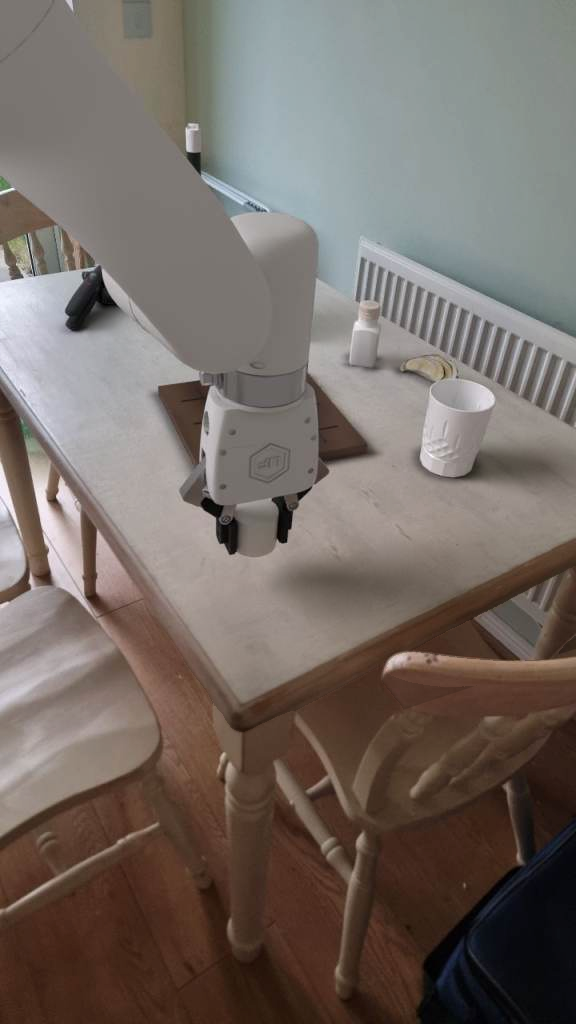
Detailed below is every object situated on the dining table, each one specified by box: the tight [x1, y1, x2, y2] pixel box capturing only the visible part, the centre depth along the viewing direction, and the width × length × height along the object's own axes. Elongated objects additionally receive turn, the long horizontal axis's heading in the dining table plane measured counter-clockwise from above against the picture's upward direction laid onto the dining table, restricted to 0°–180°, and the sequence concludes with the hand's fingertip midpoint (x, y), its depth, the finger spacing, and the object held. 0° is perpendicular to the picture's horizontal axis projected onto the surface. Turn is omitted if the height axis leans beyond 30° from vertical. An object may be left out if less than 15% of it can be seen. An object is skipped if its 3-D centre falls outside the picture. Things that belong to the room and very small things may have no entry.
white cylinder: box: [233, 498, 279, 558], centre depth 68 cm, size 5×5×4 cm
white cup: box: [419, 378, 497, 478], centre depth 86 cm, size 8×8×10 cm
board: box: [157, 372, 368, 469], centre depth 94 cm, size 22×22×2 cm
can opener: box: [64, 264, 117, 330], centre depth 117 cm, size 18×7×6 cm, turn 169°
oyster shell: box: [399, 353, 459, 384], centre depth 105 cm, size 6×4×10 cm
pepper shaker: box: [348, 299, 382, 368], centre depth 107 cm, size 4×4×10 cm
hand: (253, 538), depth 69 cm, fingers closed on white cylinder, 4 cm apart
